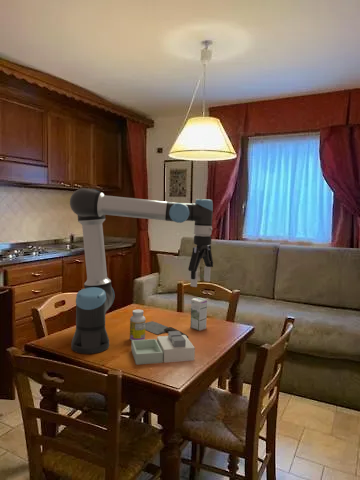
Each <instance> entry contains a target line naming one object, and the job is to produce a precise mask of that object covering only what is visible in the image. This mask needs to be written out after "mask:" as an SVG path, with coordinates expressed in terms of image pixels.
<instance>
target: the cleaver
mask: <svg viewBox="0 0 360 480" xmlns="http://www.w3.org/2000/svg"><path fill="white" fill-rule="evenodd" d="M145 331H147V332H150V333H153V334H155V335H162V334H168V332H169V331H179V332H180V333H181V334H182V335H186V337H187V338H188V339H189V336H188V335H187V334H186V333H185V332H183V331H180V330H178V329H177V328H174V327H173V326H172V327H171V326H169V327H168V326H166V325H163V324H162V323H160V322H157V321H156V322H155V321H153V320H151V321H146V322H145Z"/></svg>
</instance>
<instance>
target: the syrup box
mask: <svg viewBox="0 0 360 480" xmlns="http://www.w3.org/2000/svg"><path fill="white" fill-rule="evenodd" d="M190 301H191V302H190V304H191V305H190V329H192V330H196V331H198V332H199V331H204V330H206V329H207V318H208V316H207V314H208V312H207V311H208V299H206V298H204V297H203V298H202V297H199V296H198V297H194V298H191V300H190Z"/></svg>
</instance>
